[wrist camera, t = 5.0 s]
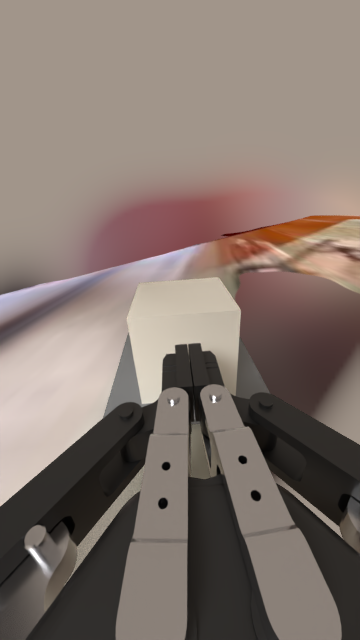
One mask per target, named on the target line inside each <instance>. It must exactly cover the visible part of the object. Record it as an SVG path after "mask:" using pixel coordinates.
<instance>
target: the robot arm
mask: <svg viewBox="0 0 360 640" xmlns="http://www.w3.org/2000/svg"><path fill="white" fill-rule="evenodd" d="M194 412H195V420H196V422H198V421H200V424H201V436H202V441H203V445H204V450H205V454H206V459H207V463H208V467H209V472H210V477H211V478H209V479H198V478H193V477H191V432H192V428H191V422H194ZM144 465H145V467H144V473H143V479H142V485H141V491H140V492H138V493H137V494H135V495H134V496H133V497H132V498H131V499H130V500H129V501H128V502H127V503H126V504H125V505H124V506H123V507H122V509H121V510H120V511H119V513H118V514H117V515H116V517H115V518H114V519H113V521H112V522H111V523H110V525H109V526H108V527H107V529H106V530H105V532H104V533H103V534H102V536H101V537H100V538H99V540H98V541H97V542H96V544H95V545H94V547H93V548H92V549H91V551H90V552H89V553H88V555H87V556H86V557H85V559H84V560H83V562H82V563H81V564H80V566H79V567H78V568H77V570H76V571H75V572H74V574H73V575H72V576H71V574H72V572H73V570H74V567H75V564H76V561H77V546H78V545H79V544H80V542H81V541H82V540H83V539H84V538H85V536H86V535H87V534H88V533H89V531H90V530H91V529H92V528H93V527H94V525H95V524H96V523H97V522H98V521H99V519H100V518H101V517H102V516H103V514H104V513H105V512H106V511H107V510H108V508H109V507H110V506H111V505H112V503H113V502H114V501H115V500H116V499H117V497H118V496H119V495H120V494H121V493H122V491H123V490H124V489H125V488H126V486H127V485H128V484H129V483H130V482H131V480H132V479H133V478H134V477H135V475H136V474H137V473H138V472H139V471H140V469H141V468H142V467H143V466H144ZM269 469H270V470H271V471H272V472H273V473H274V474H276V475H277V476H278V477H279V478H281V479H282V480H283V481H284V482H285V483H287V484H288V485H289V486H290V487H291V488H293V489H294V490H295V491H297V492H298V493H299V494H300V495H301V496H303V497H304V498H305V499H306V500H307V501H309V502H310V503H311V504H312V505H313V506H315V507H316V508H317V509H318V510H320V511H321V512H322V513H323V514H325V515H326V516H327V517H328V518H329V519H330V520H332V521H333V522H334V523H336V524H337V525H338V526H339V527H340V531H341V534H342V537H343V539H344V540H343V539H342V538H341V537H340V536H339V535H338V534H337V533H335V532H334V531H333V530H332V529H331V528H330V527H329V526H328V525H326V524H325V523H324V522H323V521H322V520H321V519H320V518H318V517H317V516H316V515H315V514H314V513H313V512H312V511H311V510H310V509H308V508H307V507H306V506H305V505H304V504H303V503H302V502H300V501H299V500H298V499H297V498H296V497H295V496H294V495H293V494H291V493H290V492H289V491H288V490H286V489H285V488H283V487H282V486H280V485H278V484H277V483H275V481H274V479H273V476H272V474H271V472H270V470H269ZM70 576H71V578H70V579H69V577H70ZM68 579H69V581H68V582H67V580H68ZM66 582H67V583H66ZM65 583H66V585H65ZM64 585H65V586H64ZM0 640H360V445H359V444H357V443H356V442H354V441H352V440H350V439H349V438H347V437H345V436H343V435H342V434H340V433H338V432H336V431H335V430H333V429H331V428H330V427H328V426H326V425H324V424H323V423H321V422H319V421H317V420H315V419H314V418H312V417H310V416H308V415H307V414H305V413H303V412H302V411H300V410H298V409H296V408H295V407H293V406H291V405H289V404H288V403H286V402H284V401H283V400H281V399H279V398H277V397H276V396H274V395H272V394H269V393H265V392H259V393H255V394H253V395H252V396H251V397H250V399H246V398H240V397H237V396H234V395H232V394H231V393H230V392H229V391H228V389H226V388H225V386H224V382H223V379H222V376H221V373H220V369H219V366H218V363H217V359H216V356H215V355H214V354H213V353H212V352H211V351H202V347H201V343H192V344H188V347H187V344H179V345H175V353H173V354H166V355H165V357H164V358H163V364H162V392H161V394H160V395H159V398H158V399H157V400H156V401H155V402H154V403H152V404H150V405H147V406H144V407H141V406H140V405H139V404H137V403H135V402H126V403H123V404H120V405H119V406H117V407H116V408H115V409H113V410H112V411H111V412H110V413H109V414H108V415H106V416H105V417H104V418H103V419H102V420H101V421H100V422H98V423H97V424H96V425H95V426H94V427H93V428H91V429H90V430H89V431H88V432H87V433H86V434H84V435H83V436H82V437H81V438H80V439H79V440H77V441H76V442H75V443H74V444H73V445H72V446H70V447H69V448H68V449H67V450H66V451H65V452H63V453H62V454H61V455H60V456H59V457H58V458H56V459H55V460H54V461H53V462H52V463H51V464H49V465H48V466H47V467H46V468H45V469H44V470H42V471H41V472H40V473H39V474H38V475H37V476H35V477H34V478H33V479H32V480H31V481H30V482H28V483H27V484H26V485H25V486H24V487H23V488H21V489H20V490H19V491H18V492H17V493H16V494H15V495H13V496H12V497H11V498H10V499H9V500H8V501H6V502H5V503H4V504H3V505H2V506H1V507H0Z"/></svg>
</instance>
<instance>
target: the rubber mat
mask: <svg viewBox="0 0 360 640" xmlns="http://www.w3.org/2000/svg"><path fill="white" fill-rule="evenodd" d="M259 392H265V393H269V394H270V392H269V390H268V388H267V386H266V385H265V383H264V381H263V379H262V377H261V375H260V373H259V371H258V370H257V368H256V366H255V364H254V362H253V360H252V358H251V357H250V355H249V353H248V351H247V349H246V347H245V345H244V343H243V342H242V340H241V338H240V336H239V350H238V366H237V382H236V396H237V397H240V398H246V399H250V397H251V396H252V395H253V394H255V393H259ZM126 402H135V403H137V404H139V405H140V406H141V407H144V406H147V405H150V404H152V403H148V404H142V402H141V396H140V391H139V385H138V380H137V374H136V369H135V363H134V358H133V352H132V347H131V341H130V336H129V332H128V336H127V339H126V342H125V346H124V349H123V353H122V356H121V359H120V363H119V366H118V370H117V373H116V376H115V380H114V383H113V386H112V390H111V393H110V397H109V400H108V403H107V407H106V410H105V413H104V417H105V416H106V415H108V414H109V413H110V412H111V411H112V410H113V409H115V408H116V407H117V406H119V405H120V404H123V403H126ZM104 417H103V418H104ZM199 423H200V421H198V422H196V420H195V412H194V422H191V424H199Z"/></svg>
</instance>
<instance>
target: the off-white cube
mask: <svg viewBox="0 0 360 640" xmlns="http://www.w3.org/2000/svg"><path fill="white" fill-rule="evenodd" d="M240 317H241V309H240V308H239V307H238V305H237V304H236V302H235V301H234V299H233V298H232V296H231V295H230V293H229V292H228V290H227V289H226V287H225V286H224V284H223V283H222V281H221V280H220V278H219V277H216V278H202V279H188V280H174V281H160V282H147V283H139V284H138V287H137V290H136V293H135V296H134V298H133V301H132V304H131V307H130V310H129V313H128V316H127V325H128V330H129V336H130V341H131V347H132V352H133V358H134V363H135V369H136V374H137V380H138V385H139V391H140V396H141V402H142V404H148V403H154V402H155V401H156V400H157V399H158V398H159V395H160V394H161V392H162V364H163V358H164V357H165V355H166V354H173V353H175V345H179V344H187V347H188V344H192V343H201V347H202V351H211V352H212V353H213V354H214V355H215V356H216V359H217V363H218V366H219V369H220V373H221V376H222V379H223V382H224V386H225V388H226V389H228V391H229V392H230V393H231V394H232V395H234V396H236V382H237V366H238V350H239V334H240Z"/></svg>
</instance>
